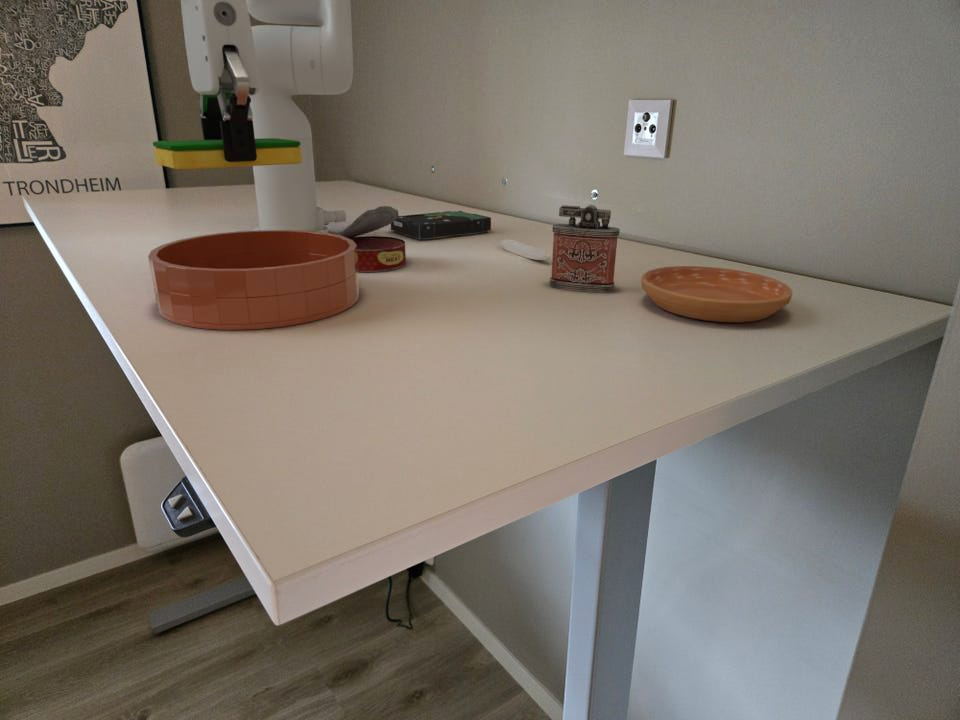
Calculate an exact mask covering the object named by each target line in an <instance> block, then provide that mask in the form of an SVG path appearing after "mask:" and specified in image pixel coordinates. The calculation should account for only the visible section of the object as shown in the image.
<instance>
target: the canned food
mask: <svg viewBox="0 0 960 720" xmlns="http://www.w3.org/2000/svg"><path fill="white" fill-rule="evenodd" d="M398 216H400V215H399V210H398V209H396V208H394V207H392V206H390V205H383V206H378V207H376V208H374V209H367V210H365V211H364V212H363V213H362V214H360V215H359V216H358V217H356V219H355V220H354V221H353V222H351V224H349V225H348V226H346V227H345V228H344V229H343V230H342V231H340V233H338V234H337V235H340V236H344V237H346V238H349V239H351V240H353V241H354V242H355V244H356V245H357V257H358V273H380V272H389V271H394V270H398V269H401V268H403V267H404V266H406V264H407V262H406V259H407V257H406V256H407V255H406V241H405V240H404V239H402V238H398V237H394V236H384V235H367V234H369V233H373V232H375V231H378V230H381V229H382V228H385V227H387V226H390V225H391V223H392V222H394V221H395V220H396V219H397V218H398Z"/></svg>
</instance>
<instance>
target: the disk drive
mask: <svg viewBox="0 0 960 720" xmlns="http://www.w3.org/2000/svg"><path fill="white" fill-rule="evenodd" d="M390 231H393V232H395V233H397V234H400V235H403V236H406V237H409V238H413V239H417V240H433V239H444V238H450V237H455V236H469V235H477V234H478V235H479V234H481V233H488V232H491V231H492V217H490V216H486V215H482V214H478V213H471V212H465V211H463V210H458V211H457V210H454V211H453V210H452V211H451V210H449V211H448V210H447V211H446V210H445V211H437V212H428V213H417V214H408V215H407V214H405V215H399V216H398V218H397V219H396V220H395V221H394V222H392V223H391V224H390Z"/></svg>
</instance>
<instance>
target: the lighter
mask: <svg viewBox="0 0 960 720" xmlns="http://www.w3.org/2000/svg"><path fill="white" fill-rule="evenodd" d="M558 210H559V211H558V216H559V217H563V218H569V219H568V223H554V224H552V233H553V239H552V240H553V241H552V242H553V243H552V256H551V260H552V261H551V275H550V277H549V287H551V288H557V289H561V290H562V289H563V290H568V291H577V292H589V293H612V292H615V285H616V284H615V283H616V282H614V278H615V267H616V257H617V246H618V238H619V236H620V231H621V229H620V228H619V227H616V226H615V227H614V226H609V224H610V221H611V215H612V209H604V208H603V209H601V208H598V207H597V206H595V205H594V204H589V205H587V206H586V207H581V206H580V205H569V204H568V205H566V204H565V205H564V204H562V205H561V206H559V209H558ZM576 218H578V219H580V221H579V222H577V219H576ZM600 220H601V222H600ZM576 222H577V223H578V224H577V223H576Z"/></svg>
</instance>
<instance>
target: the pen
mask: <svg viewBox="0 0 960 720" xmlns="http://www.w3.org/2000/svg"><path fill="white" fill-rule="evenodd" d="M500 244H501V247H502V248H503V250H505V251H508V252H510V253H513V254H515V255H517V256H520V257H522V258H525V259H529V260H536V261H545V260H549V259H552V256H551V254H550V252H548V251H547V250H543V249H541V248H538V247H535V246H533V245H530V244H527V243H524V242H521V241H519V240H516V239H509V238H507V239H503V240H501V243H500Z"/></svg>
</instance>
